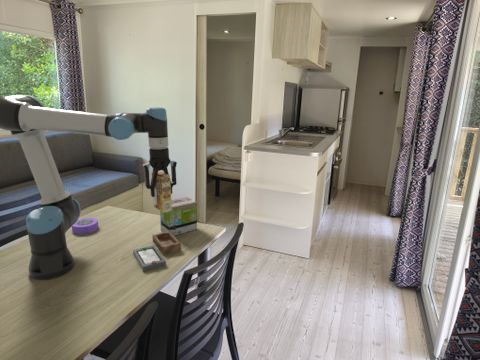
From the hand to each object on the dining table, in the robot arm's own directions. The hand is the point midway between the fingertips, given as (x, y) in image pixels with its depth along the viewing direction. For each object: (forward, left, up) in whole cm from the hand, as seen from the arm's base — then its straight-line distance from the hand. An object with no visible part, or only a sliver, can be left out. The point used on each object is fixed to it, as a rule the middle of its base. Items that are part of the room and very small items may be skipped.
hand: (162, 202), depth 138 cm
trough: (+2, +2, -21) cm, 21 cm away
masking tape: (-27, +38, -22) cm, 51 cm away
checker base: (-8, -6, -21) cm, 24 cm away
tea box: (+13, +15, -22) cm, 29 cm away
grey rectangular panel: (-8, -6, -21) cm, 23 cm away
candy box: (0, 0, -3) cm, 3 cm away
